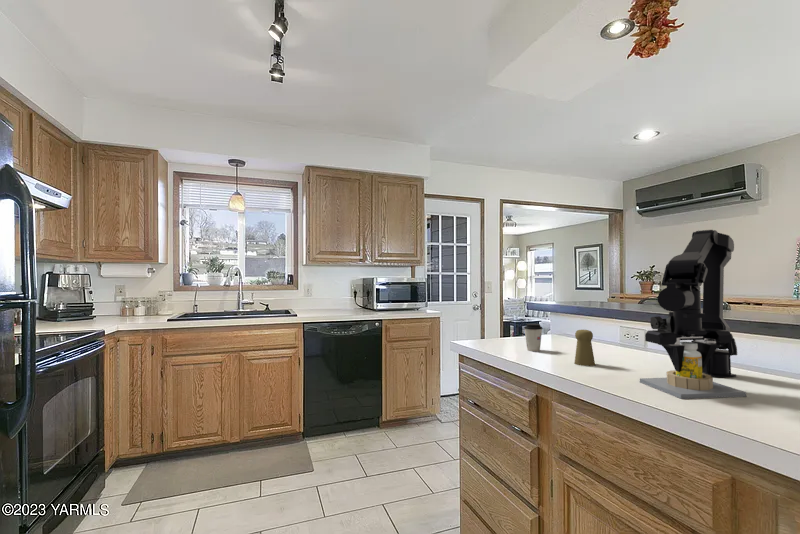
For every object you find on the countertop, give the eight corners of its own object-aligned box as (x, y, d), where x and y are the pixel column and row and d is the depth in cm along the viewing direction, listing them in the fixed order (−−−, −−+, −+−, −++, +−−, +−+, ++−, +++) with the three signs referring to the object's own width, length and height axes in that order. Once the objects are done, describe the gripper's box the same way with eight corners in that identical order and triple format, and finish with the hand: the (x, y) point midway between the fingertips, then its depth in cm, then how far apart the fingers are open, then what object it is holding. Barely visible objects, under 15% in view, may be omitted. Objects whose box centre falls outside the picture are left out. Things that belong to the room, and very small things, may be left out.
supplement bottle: (706, 381, 96) (704, 343, 96) (697, 385, 93) (696, 345, 93) (680, 377, 100) (679, 340, 101) (672, 380, 97) (670, 342, 98)
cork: (574, 365, 123) (574, 330, 123) (574, 361, 129) (573, 328, 129) (596, 366, 121) (595, 331, 121) (594, 362, 126) (593, 329, 127)
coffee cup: (522, 351, 147) (521, 324, 147) (526, 348, 153) (526, 322, 153) (541, 352, 143) (540, 325, 144) (545, 349, 149) (544, 323, 150)
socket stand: (696, 380, 104) (696, 367, 104) (746, 396, 90) (745, 381, 90) (639, 382, 103) (639, 368, 103) (680, 398, 89) (680, 383, 89)
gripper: (695, 305, 106) (697, 362, 105) (630, 307, 104) (631, 364, 104) (732, 308, 94) (735, 372, 94) (660, 310, 93) (662, 375, 93)
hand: (688, 371), depth 97 cm, fingers closed on supplement bottle, 5 cm apart
